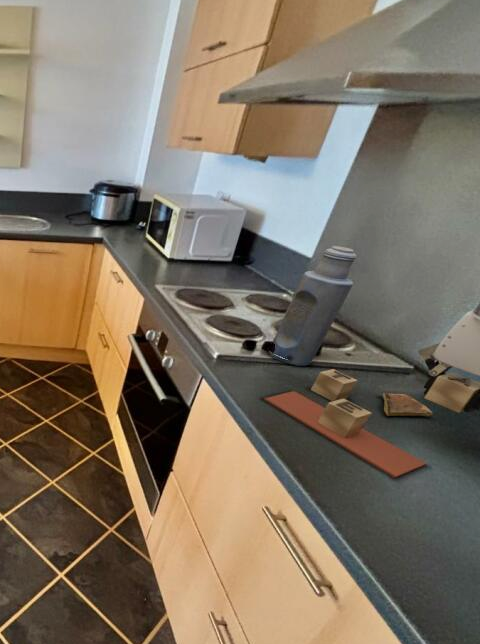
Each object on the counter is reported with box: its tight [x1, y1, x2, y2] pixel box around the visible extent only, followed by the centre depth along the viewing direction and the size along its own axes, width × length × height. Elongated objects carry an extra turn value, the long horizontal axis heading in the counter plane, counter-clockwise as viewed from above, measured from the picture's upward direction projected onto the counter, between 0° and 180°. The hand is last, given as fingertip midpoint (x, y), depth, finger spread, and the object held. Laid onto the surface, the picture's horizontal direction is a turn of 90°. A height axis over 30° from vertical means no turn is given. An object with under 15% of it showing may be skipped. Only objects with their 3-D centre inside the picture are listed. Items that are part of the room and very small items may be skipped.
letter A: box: [423, 371, 480, 414], centre depth 78 cm, size 5×5×5 cm
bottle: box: [268, 245, 358, 367], centre depth 104 cm, size 10×10×30 cm
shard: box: [382, 392, 433, 418], centre depth 92 cm, size 11×8×2 cm
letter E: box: [318, 399, 373, 438], centre depth 82 cm, size 5×5×5 cm
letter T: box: [310, 368, 358, 402], centre depth 95 cm, size 5×5×5 cm
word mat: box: [263, 390, 427, 479], centre depth 84 cm, size 24×10×1 cm, turn 22°
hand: (449, 400), depth 79 cm, fingers closed on letter A, 5 cm apart
